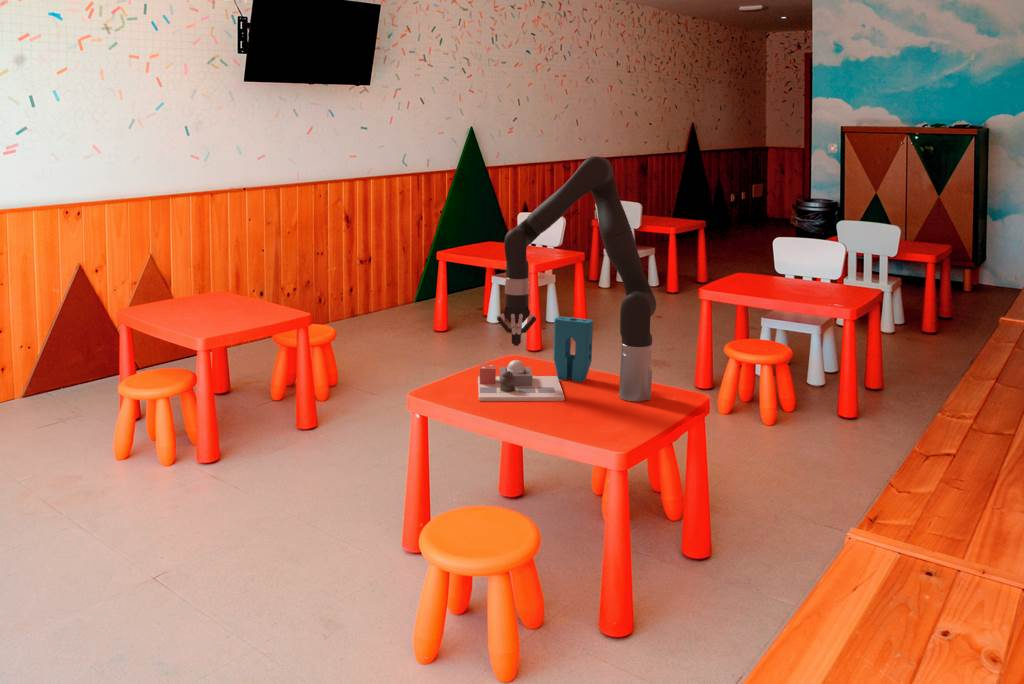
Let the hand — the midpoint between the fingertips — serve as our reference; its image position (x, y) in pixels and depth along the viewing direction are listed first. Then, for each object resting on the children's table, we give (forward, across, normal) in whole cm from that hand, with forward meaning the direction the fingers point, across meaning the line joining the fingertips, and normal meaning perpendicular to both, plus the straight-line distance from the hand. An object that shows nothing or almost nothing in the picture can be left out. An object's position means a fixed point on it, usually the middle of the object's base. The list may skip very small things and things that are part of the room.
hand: (515, 345), depth 287 cm
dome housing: (+12, 0, 0) cm, 12 cm away
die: (+12, +9, 0) cm, 15 cm away
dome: (+10, 0, 0) cm, 10 cm away
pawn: (+12, +3, +9) cm, 15 cm away
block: (+13, -19, -7) cm, 24 cm away
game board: (+13, -1, +5) cm, 14 cm away
